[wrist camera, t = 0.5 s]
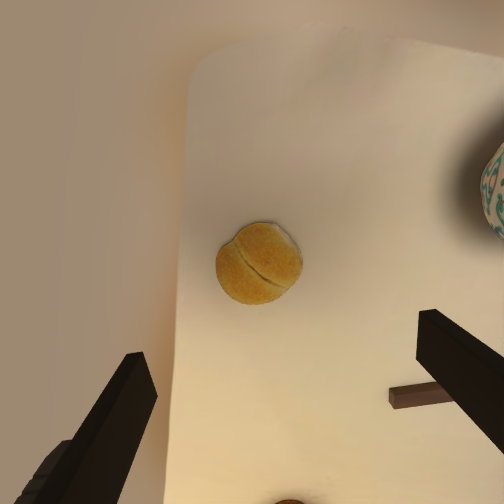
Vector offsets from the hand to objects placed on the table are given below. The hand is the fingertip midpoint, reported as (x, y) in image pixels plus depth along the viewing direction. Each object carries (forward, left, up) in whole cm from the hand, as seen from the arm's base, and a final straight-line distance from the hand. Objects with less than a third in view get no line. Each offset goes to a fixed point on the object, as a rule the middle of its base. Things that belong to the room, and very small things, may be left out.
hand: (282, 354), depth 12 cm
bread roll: (+1, 0, -16) cm, 16 cm away
